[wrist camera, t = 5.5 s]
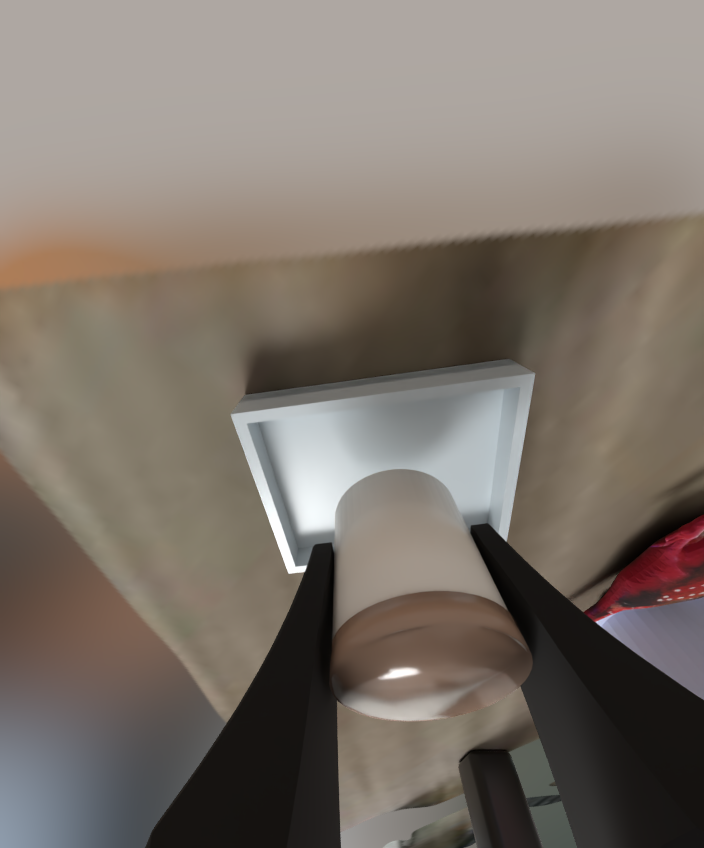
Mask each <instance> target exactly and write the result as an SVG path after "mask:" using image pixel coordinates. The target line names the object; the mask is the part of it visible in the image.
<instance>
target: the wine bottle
mask: <svg viewBox="0 0 704 848" xmlns="http://www.w3.org/2000/svg"><path fill="white" fill-rule="evenodd" d="M458 768H459V772H460V777H461V781H462V785H463V789H464V794H465V798H466V802H467V806H468V811H469V815H470V819H471V823H472V828H473V832H474V836H475V840H476V844H477V848H543V846H542V843H541V840H540V837H539V834H538V832H537V829H536V826H535V823H534V820H533V818H532V814H531V811H530V808H529V806H528V803H527V800H526V797H525V794H524V791H523V788H522V786H521V783H520V780H519V777H518V774H517V772H516V768H515V765H514V763H513V760H512V757H511V755H510V754H509V753H508V752H506V751H472V752H470V753H469V754H468V755H467V756H466V757H465V758H464V759H463V760H462V761H461V762H460V764H459V767H458Z"/></svg>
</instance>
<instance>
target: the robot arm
mask: <svg viewBox="0 0 704 848" xmlns="http://www.w3.org/2000/svg"><path fill="white" fill-rule="evenodd" d="M470 534H471V536H472V538H473V540H474V542H475V544H476V546H477V548H478V550H479V552H480V554H481V556H482V558H483V560H484V562H485V564H486V566H487V569H488V571H489V573H490V575H491V577H492V579H493V581H494V583H495V585H496V587H497V589H498V591H499V593H500V595H501V597H502V599H503V601H504V603H505V605H506V607H507V610H508V612H510V614H511V615H512V616H513V618H514V619H515V621H516V623H517V625H518V627H519V629H520V632H521V634H522V636H523V638H524V640H525V642H526V644H527V646H528V648H529V650H530V652H531V655H532V660H533V664H532V669H531V672H530V674H529V676H528V677H527V679H526V680H525V682H524V683H523V684H522V685H521V689H522V691H523V694H524V697H525V699H526V702H527V705H528V707H529V710H530V713H531V715H532V718H533V721H534V724H535V726H536V729H537V732H538V735H539V737H540V740H541V743H542V745H543V748H544V751H545V754H546V757H547V759H548V762H549V765H550V768H551V771H552V774H553V777H554V780H555V783H556V785H557V788H558V791H559V794H560V797H561V800H562V803H563V806H564V809H565V812H566V815H567V817H568V821H569V824H570V827H571V829H572V833H573V836H574V839H575V842H576V845H577V848H704V597H703V598H699V599H695V600H690V601H685V602H679V603H674V604H669V605H664V606H658V607H652V608H644V609H632V610H623V611H620V612H617V613H615V614H612V615H610V616H607V617H605V618H603V619H601V620H599V621H597V622H595V621H593V620H592V619H591V618H590V617H588V616H587V615H586V614H585V613H583V612H582V611H581V610H580V609H579V608H577V607H576V606H575V605H574V604H573V603H572V602H570V601H569V600H568V599H567V598H566V597H565V596H563V595H562V594H561V593H560V592H559V591H558V590H557V589H555V588H554V587H553V586H552V585H551V584H550V583H549V582H548V581H547V580H545V579H544V578H543V577H542V576H541V575H540V574H539V573H538V572H537V571H536V570H535V569H534V568H533V567H532V566H530V565H529V564H528V563H527V562H526V561H525V560H524V559H523V558H522V557H521V556H520V555H519V554H518V553H517V552H516V551H515V550H514V549H513V548H512V547H511V546H510V545H509V544H508V543H507V542H506V541H505V540H504V539H503V538H502V537H501V536H500V535H499V534H498V533H497V532H496V531H495V530H494V528H493V527H492V526H491V525H489V524H488V523H485V524H477V525H471V528H470ZM333 585H334V550H333V546H332V542H329V543H321V544H315V545H314V546H313V548H312V552H311V555H310V558H309V561H308V564H307V567H306V570H305V573H304V575H303V578H302V581H301V583H300V586H299V588H298V591H297V593H296V595H295V598H294V600H293V603H292V605H291V607H290V610H289V612H288V614H287V616H286V618H285V620H284V622H283V625H282V627H281V629H280V631H279V633H278V635H277V637H276V639H275V641H274V643H273V645H272V647H271V649H270V651H269V653H268V655H267V656H266V658H265V660H264V662H263V664H262V666H261V667H260V669H259V671H258V673H257V675H256V676H255V678H254V680H253V681H252V683H251V685H250V687H249V688H248V690H247V692H246V693H245V695H244V697H243V698H242V700H241V702H240V703H239V705H238V707H237V708H236V710H235V711H234V713H233V715H232V716H231V718H230V719H229V721H228V722H227V724H226V726H225V727H224V728H223V730H222V732H221V733H220V735H219V736H218V738H217V739H216V741H215V742H214V744H213V745H212V747H211V748H210V750H209V751H208V753H207V754H206V756H205V757H204V759H203V760H202V762H201V763H200V765H199V766H198V767H197V769H196V770H195V772H194V773H193V775H192V776H191V777H190V779H189V780H188V782H187V783H186V784H185V786H184V787H183V788H182V790H181V791H180V792H179V794H178V795H177V797H176V798H175V799H174V801H173V802H172V804H171V805H170V806H169V808H168V809H167V810H166V812H165V813H164V815H163V816H162V817H161V819H160V820H159V821H158V823H157V824H156V826H155V827H154V829H153V830H152V833H151V835H150V837H149V840H148V842H147V845H146V847H145V848H341V842H340V841H341V840H340V812H339V781H338V740H337V699H336V698H335V697H334V696H333V694H332V692H331V689H330V685H329V681H330V647H331V643H332V633H333Z"/></svg>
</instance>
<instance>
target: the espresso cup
mask: <svg viewBox="0 0 704 848" xmlns="http://www.w3.org/2000/svg"><path fill="white" fill-rule="evenodd" d="M532 664H533V660H532V655H531V652H530V650H529V648H528V646H527V644H526V642H525V640H524V638H523V636H522V634H521V632H520V629H519V627H518V625H517V623H516V621H515V619H514V618H513V616H512V615H511V614H510V612H508V610H507V607H506V605H505V603H504V601H503V599H502V597H501V595H500V593H499V591H498V589H497V587H496V585H495V583H494V581H493V579H492V577H491V575H490V573H489V571H488V569H487V566H486V564H485V562H484V560H483V558H482V556H481V554H480V552H479V550H478V548H477V546H476V544H475V542H474V540H473V538H472V536H471V534H470V532H469V530H468V527H467V525H466V523H465V521H464V519H463V517H462V515H461V513H460V511H459V509H458V507H457V505H456V503H455V501H454V499H453V497H452V495H451V493H450V491H449V490H448V488H447V487H446V486H445V485H444V484H443V483H442V482H441V481H439V480H438V479H437V478H435V477H433V476H431V475H429V474H426V473H424V472H420V471H416V470H409V469H392V470H386V471H381V472H378V473H374V474H372V475H369V476H367V477H365V478H363V479H361V480H359V481H358V482H356V483H355V484H354V485H352V486H351V487H350V488H349V489H348V490H347V491H346V492H345V493H344V495H343V496H342V497H341V499H340V501H339V503H338V505H337V508H336V512H335V538H334V585H333V633H332V643H331V647H330V681H329V685H330V689H331V692H332V694H333V696H334V697H335V698H336V699H337V700H338V702H340V703H341V704H342V705H343V706H345V707H347V708H348V709H350V710H352V711H354V712H357V713H359V714H362V715H365V716H369V717H373V718H377V719H384V720H392V721H428V720H437V719H444V718H450V717H455V716H459V715H463V714H467V713H470V712H473V711H477V710H479V709H482V708H485V707H487V706H489V705H492V704H494V703H496V702H498V701H500V700H502V699H503V698H505V697H507V696H508V695H510V694H511V693H513V692H514V691H515V690H516V689H518V688H519V687H520V686H521V685H522V684H523V683H524V682H525V680H526V679H527V677H528V676H529V674H530V672H531V669H532Z"/></svg>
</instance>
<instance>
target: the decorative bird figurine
mask: <svg viewBox="0 0 704 848" xmlns="http://www.w3.org/2000/svg"><path fill="white" fill-rule="evenodd" d="M703 597H704V514H703V515H702V516H700V517H698V518H696V519H694V520H693V521H692V522H690V523H688V524H685V525H683V526H681V527H680V528H679V529H677V530H675V531H673V532H671V533H669V534H668V535H666V536H664V537H662V538H661V539H659V540H658V541H656V542H655V543H653V544H652V545H651V546H650V547H649V548H647V549H646V550H645V551H644V552H643V553H642V554H641V555H640V556H638V557H637V558H636V559H635V560H634V561H633V562H631V563H630V564H629V565H627V566H626V567H625V568H624V569H622V570H621V571H620V573H619V574H618V575H617V577H616V578H615V580H614V581H613V583H612V585H611V587H610V588H609V589H608V591H607V593H606V594H605V595H604V596H603V597H602V598H601V599H600V600H599V601H598V602H597V603H596V604H594V605H593V606H591V607H590V608H589V609H587V610H586V611H585V612H583V613H585V614H586V615H587V616H588V617H590V618H591V619H592V620H593V621H595V622H597V621H599V620H601V619H603V618H605V617H607V616H610V615H612V614H615V613H617V612H620V611H623V610H632V609H644V608H652V607H658V606H664V605H669V604H674V603H679V602H685V601H690V600H695V599H699V598H703Z"/></svg>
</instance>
